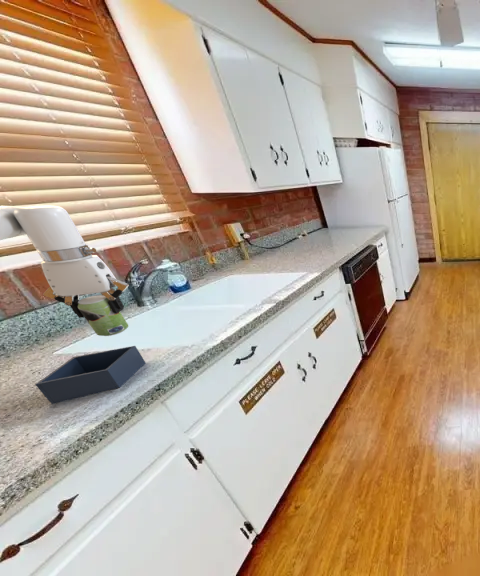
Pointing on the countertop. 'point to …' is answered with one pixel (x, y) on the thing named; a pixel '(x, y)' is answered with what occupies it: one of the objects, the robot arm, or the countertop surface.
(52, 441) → the countertop surface
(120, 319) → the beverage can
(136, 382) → the countertop surface
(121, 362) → the bin
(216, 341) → the countertop surface
